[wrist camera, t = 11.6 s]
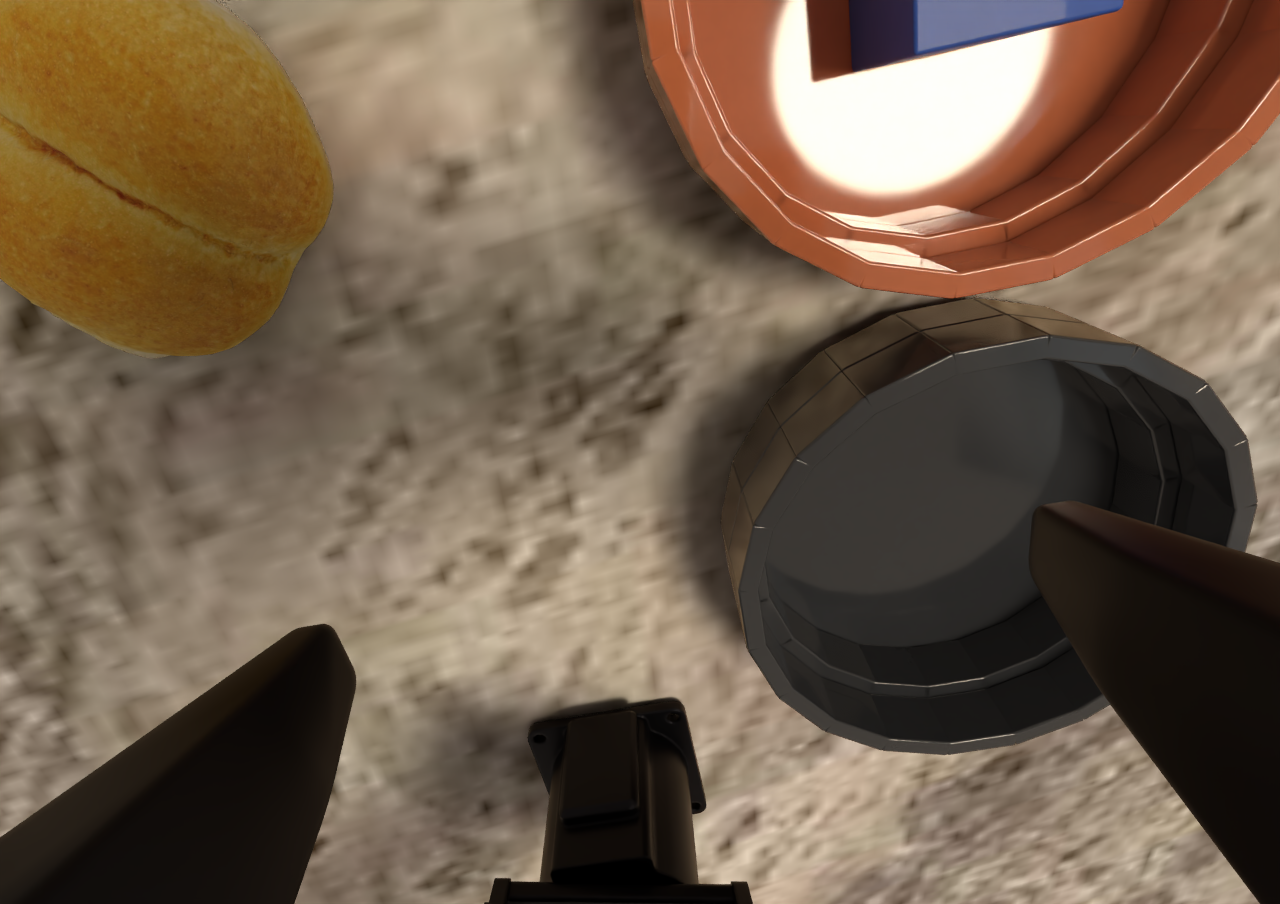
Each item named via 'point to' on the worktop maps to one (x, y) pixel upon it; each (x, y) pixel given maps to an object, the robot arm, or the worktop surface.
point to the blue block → (952, 24)
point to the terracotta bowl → (960, 132)
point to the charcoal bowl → (957, 515)
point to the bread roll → (152, 171)
